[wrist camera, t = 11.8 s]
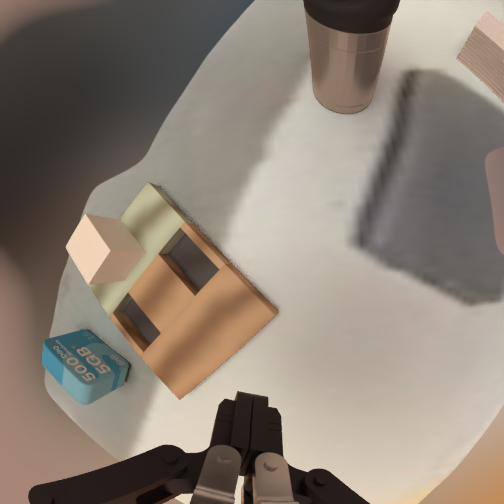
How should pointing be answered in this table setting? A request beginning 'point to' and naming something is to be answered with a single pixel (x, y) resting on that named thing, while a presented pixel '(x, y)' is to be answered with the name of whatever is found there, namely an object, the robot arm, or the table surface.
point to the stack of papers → (486, 53)
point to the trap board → (180, 296)
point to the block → (104, 249)
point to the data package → (84, 365)
